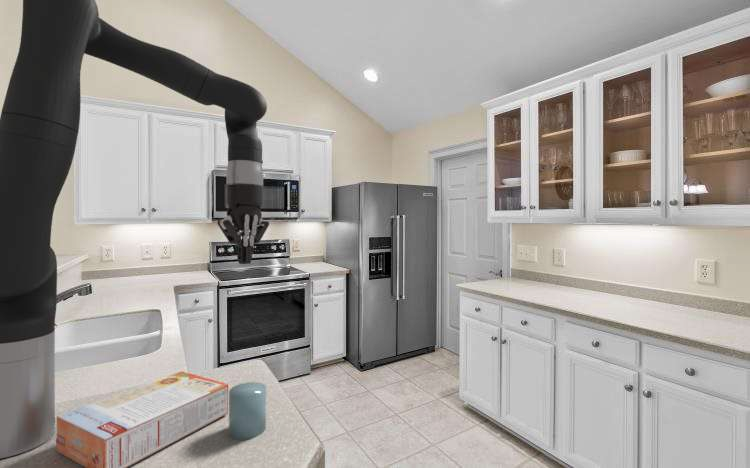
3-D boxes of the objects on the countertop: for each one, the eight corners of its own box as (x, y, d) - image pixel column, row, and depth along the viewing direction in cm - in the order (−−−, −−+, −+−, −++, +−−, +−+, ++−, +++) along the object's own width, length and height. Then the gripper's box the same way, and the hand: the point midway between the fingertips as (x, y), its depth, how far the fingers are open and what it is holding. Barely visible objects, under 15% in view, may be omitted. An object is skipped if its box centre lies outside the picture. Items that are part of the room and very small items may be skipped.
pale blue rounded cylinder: (247, 443, 59) (247, 400, 59) (221, 433, 62) (221, 392, 62) (273, 425, 64) (273, 386, 64) (247, 417, 67) (248, 379, 67)
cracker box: (182, 399, 74) (53, 452, 56) (182, 369, 74) (54, 413, 56) (229, 416, 68) (101, 482, 49) (230, 383, 68) (102, 437, 49)
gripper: (254, 187, 87) (254, 260, 87) (207, 181, 75) (206, 265, 75) (279, 186, 83) (278, 262, 84) (233, 179, 72) (232, 267, 72)
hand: (244, 263), depth 79 cm, fingers closed
